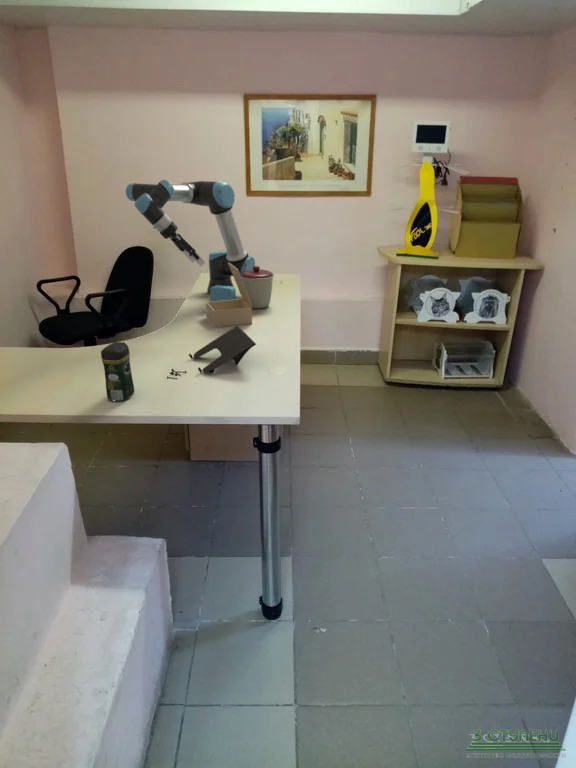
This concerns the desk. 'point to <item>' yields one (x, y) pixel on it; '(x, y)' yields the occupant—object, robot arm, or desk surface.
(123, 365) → the coffee jar
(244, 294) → the mailer lid
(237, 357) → the portable electronic device stand
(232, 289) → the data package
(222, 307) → the box
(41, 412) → the desk surface
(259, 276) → the canister
